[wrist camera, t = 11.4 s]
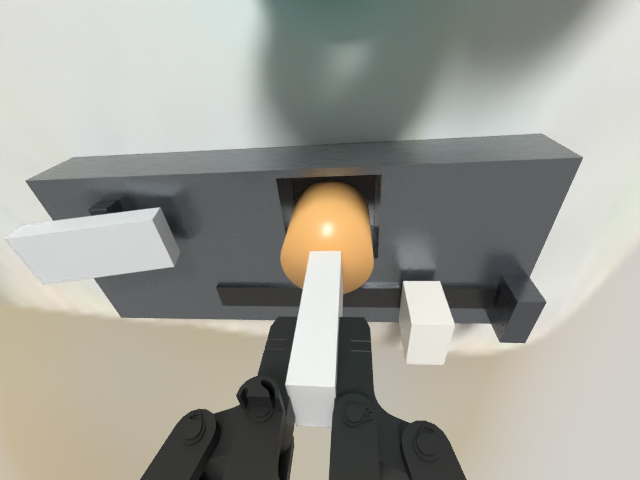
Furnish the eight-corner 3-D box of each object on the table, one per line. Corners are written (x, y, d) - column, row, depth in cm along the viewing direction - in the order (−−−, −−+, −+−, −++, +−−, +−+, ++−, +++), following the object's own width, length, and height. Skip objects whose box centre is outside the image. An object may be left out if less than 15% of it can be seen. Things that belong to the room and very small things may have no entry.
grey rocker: (57, 269, 20) (43, 284, 18) (22, 224, 18) (4, 239, 16) (180, 252, 20) (174, 266, 19) (160, 207, 18) (152, 219, 17)
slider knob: (398, 319, 23) (405, 363, 20) (403, 281, 20) (411, 324, 17) (431, 320, 22) (443, 364, 19) (439, 281, 20) (454, 325, 17)
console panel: (146, 285, 29) (103, 340, 24) (73, 157, 22) (-13, 198, 17) (488, 286, 26) (523, 351, 21) (542, 133, 18) (617, 176, 13)
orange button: (299, 245, 21) (287, 295, 17) (289, 181, 18) (273, 224, 14) (368, 244, 20) (372, 296, 16) (369, 178, 18) (375, 222, 14)
